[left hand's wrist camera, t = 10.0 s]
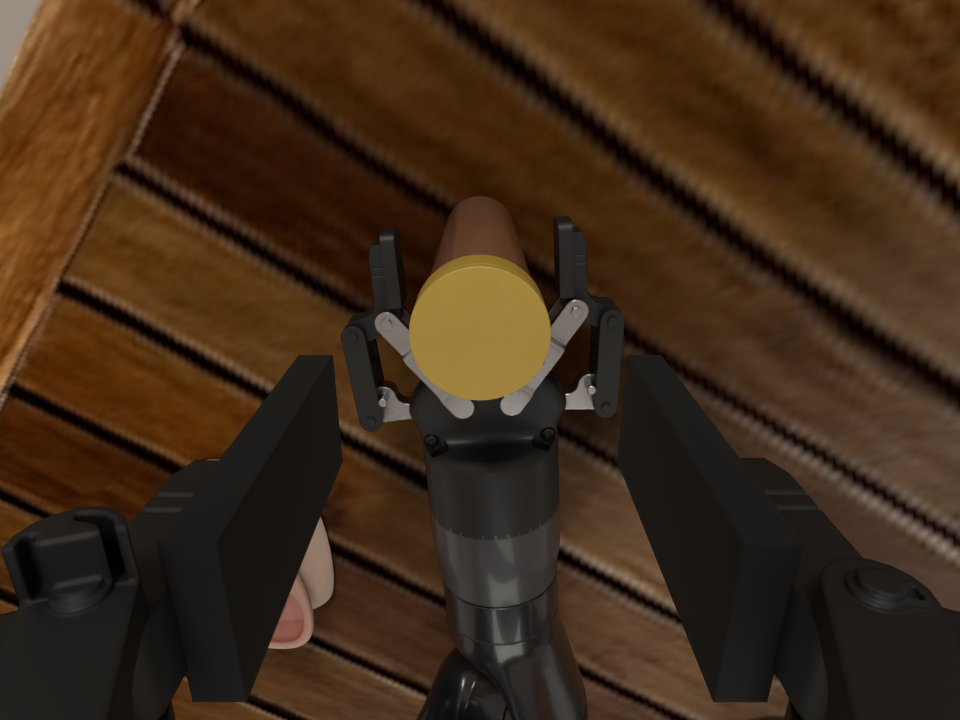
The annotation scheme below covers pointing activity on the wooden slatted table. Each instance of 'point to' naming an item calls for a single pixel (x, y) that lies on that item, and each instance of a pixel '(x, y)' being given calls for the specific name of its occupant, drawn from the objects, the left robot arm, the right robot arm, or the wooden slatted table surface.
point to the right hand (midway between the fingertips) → (475, 224)
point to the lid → (479, 328)
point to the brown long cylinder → (480, 233)
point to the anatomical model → (306, 593)
